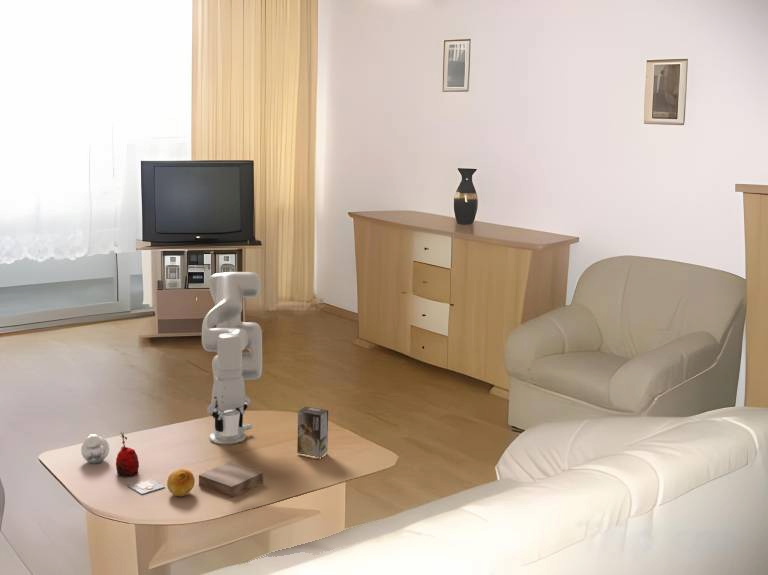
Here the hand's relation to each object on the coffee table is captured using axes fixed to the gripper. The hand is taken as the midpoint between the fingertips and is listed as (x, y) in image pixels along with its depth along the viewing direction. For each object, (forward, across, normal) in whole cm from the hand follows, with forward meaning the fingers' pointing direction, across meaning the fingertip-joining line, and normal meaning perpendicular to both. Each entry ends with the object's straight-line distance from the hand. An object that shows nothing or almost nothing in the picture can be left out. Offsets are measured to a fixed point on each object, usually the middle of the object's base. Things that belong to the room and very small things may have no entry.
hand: (228, 427), depth 276 cm
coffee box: (+18, -36, -1) cm, 40 cm away
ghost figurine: (+18, +24, -41) cm, 51 cm away
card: (+18, +21, -13) cm, 31 cm away
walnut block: (+19, 0, +2) cm, 19 cm away
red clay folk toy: (+18, +20, -26) cm, 38 cm away
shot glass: (+2, 0, 0) cm, 2 cm away
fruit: (+19, +16, -2) cm, 25 cm away
